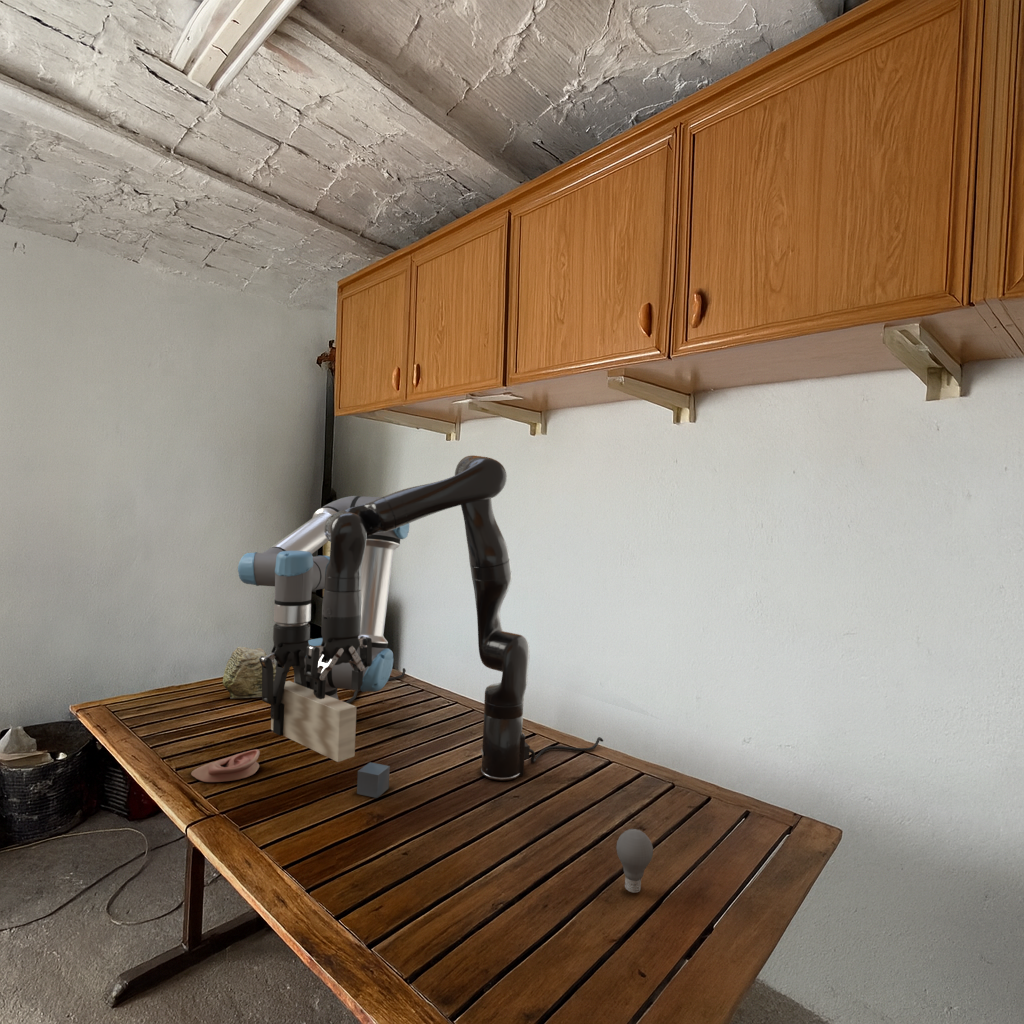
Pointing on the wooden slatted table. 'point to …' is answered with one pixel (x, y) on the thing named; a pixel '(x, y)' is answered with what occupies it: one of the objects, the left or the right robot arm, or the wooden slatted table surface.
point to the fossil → (244, 673)
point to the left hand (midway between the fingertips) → (288, 730)
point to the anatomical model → (229, 768)
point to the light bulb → (634, 857)
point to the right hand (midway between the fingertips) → (338, 693)
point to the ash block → (319, 722)
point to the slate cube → (373, 780)
